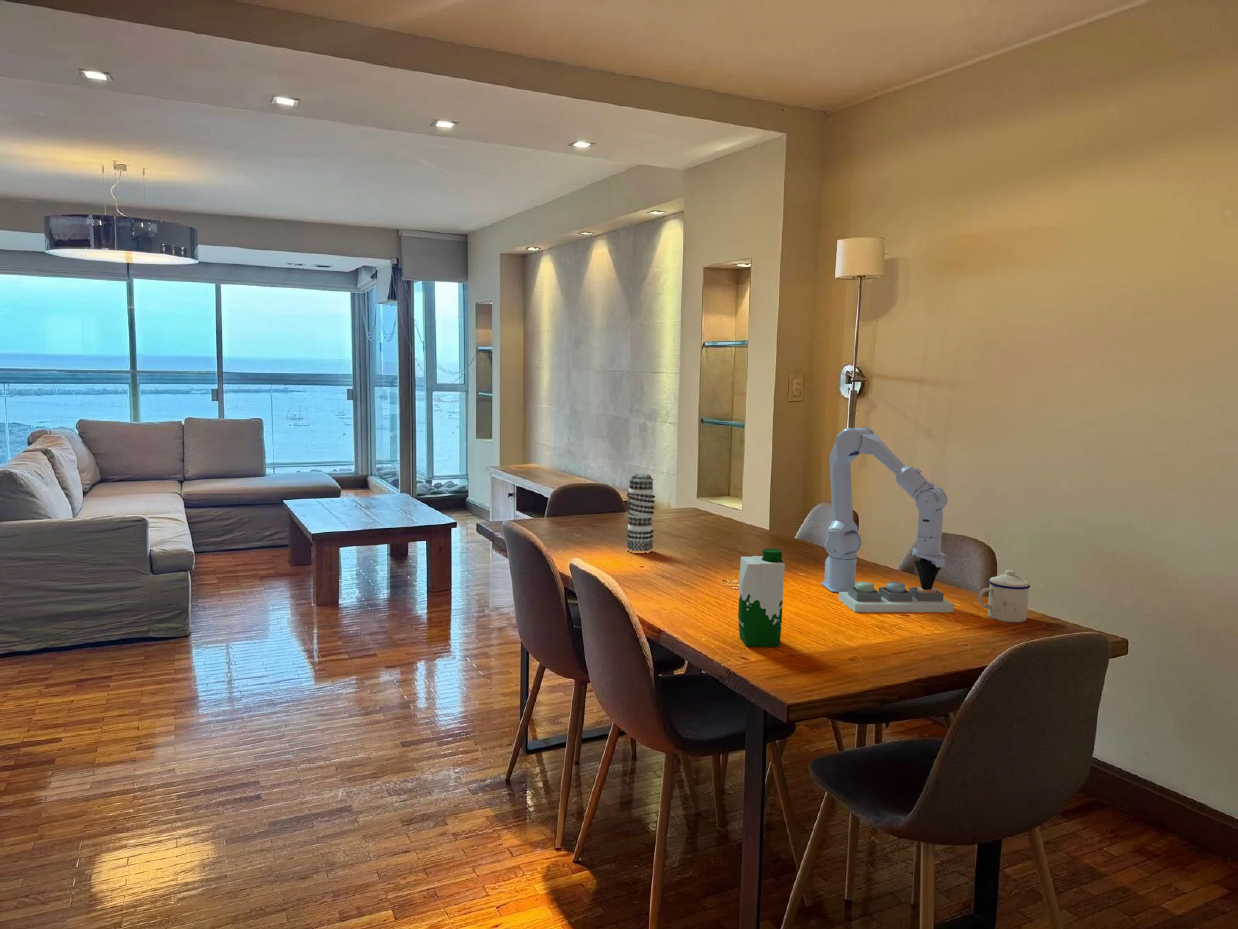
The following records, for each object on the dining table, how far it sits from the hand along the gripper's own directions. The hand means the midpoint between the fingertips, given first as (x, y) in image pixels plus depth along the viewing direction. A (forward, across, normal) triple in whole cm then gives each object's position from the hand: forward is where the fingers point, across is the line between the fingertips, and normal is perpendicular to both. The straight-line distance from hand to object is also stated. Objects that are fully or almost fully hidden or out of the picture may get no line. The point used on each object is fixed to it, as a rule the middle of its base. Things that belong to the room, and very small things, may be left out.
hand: (926, 589), depth 216 cm
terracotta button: (+2, 0, 0) cm, 2 cm away
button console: (+4, 0, +8) cm, 9 cm away
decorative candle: (+4, +66, +66) cm, 93 cm away
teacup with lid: (+4, -11, -14) cm, 18 cm away
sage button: (+1, 0, +16) cm, 16 cm away
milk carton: (+4, -29, +50) cm, 58 cm away
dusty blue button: (+1, 0, +8) cm, 8 cm away
